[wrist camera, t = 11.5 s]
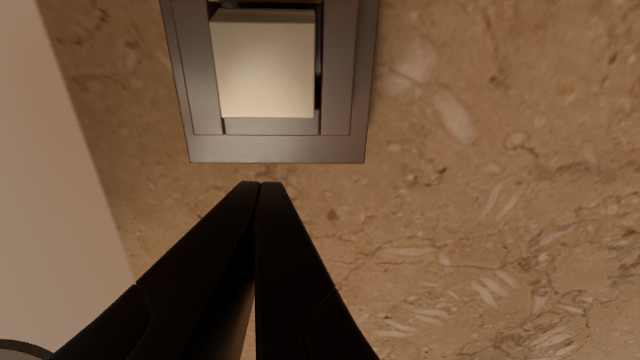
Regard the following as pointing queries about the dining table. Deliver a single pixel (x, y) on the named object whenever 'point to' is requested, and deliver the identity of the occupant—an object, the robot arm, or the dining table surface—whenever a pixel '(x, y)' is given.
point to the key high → (264, 62)
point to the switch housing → (277, 133)
